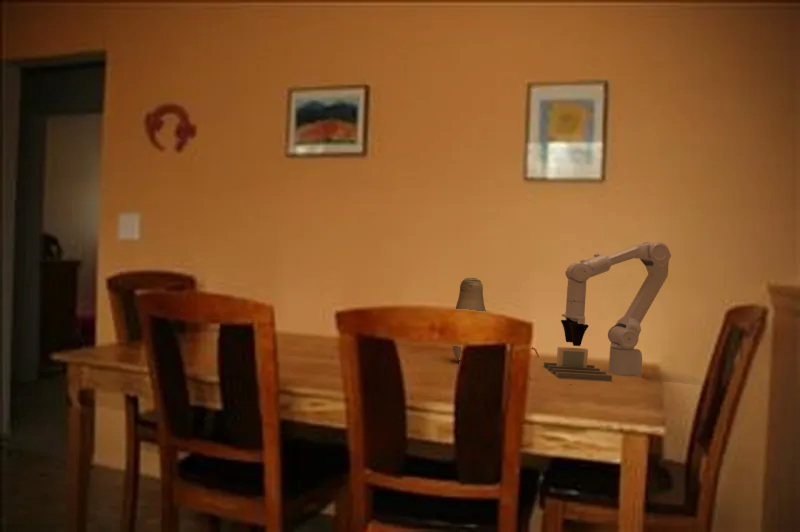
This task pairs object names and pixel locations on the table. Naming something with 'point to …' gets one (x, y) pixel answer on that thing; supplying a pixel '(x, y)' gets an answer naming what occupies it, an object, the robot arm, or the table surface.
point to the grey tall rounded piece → (469, 301)
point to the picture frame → (572, 357)
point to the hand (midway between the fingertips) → (572, 344)
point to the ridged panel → (578, 372)
